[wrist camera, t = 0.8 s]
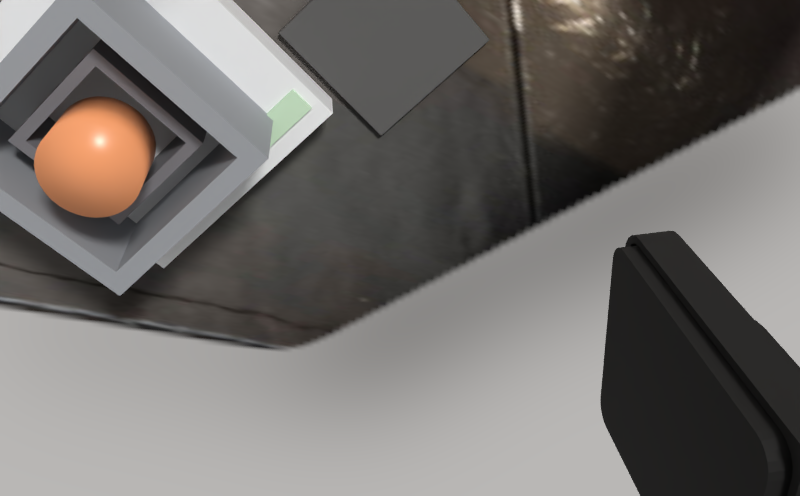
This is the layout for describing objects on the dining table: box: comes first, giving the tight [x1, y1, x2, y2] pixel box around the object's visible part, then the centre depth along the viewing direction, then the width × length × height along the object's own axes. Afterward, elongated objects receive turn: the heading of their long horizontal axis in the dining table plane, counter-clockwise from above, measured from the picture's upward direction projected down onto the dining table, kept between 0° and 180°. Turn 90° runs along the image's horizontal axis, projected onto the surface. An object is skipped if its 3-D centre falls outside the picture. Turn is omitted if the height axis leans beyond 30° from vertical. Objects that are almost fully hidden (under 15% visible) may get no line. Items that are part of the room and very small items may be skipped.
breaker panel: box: [0, 0, 333, 296], centre depth 33 cm, size 12×13×6 cm
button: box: [34, 96, 156, 218], centre depth 31 cm, size 4×4×3 cm
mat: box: [279, 0, 489, 135], centre depth 36 cm, size 7×7×1 cm
